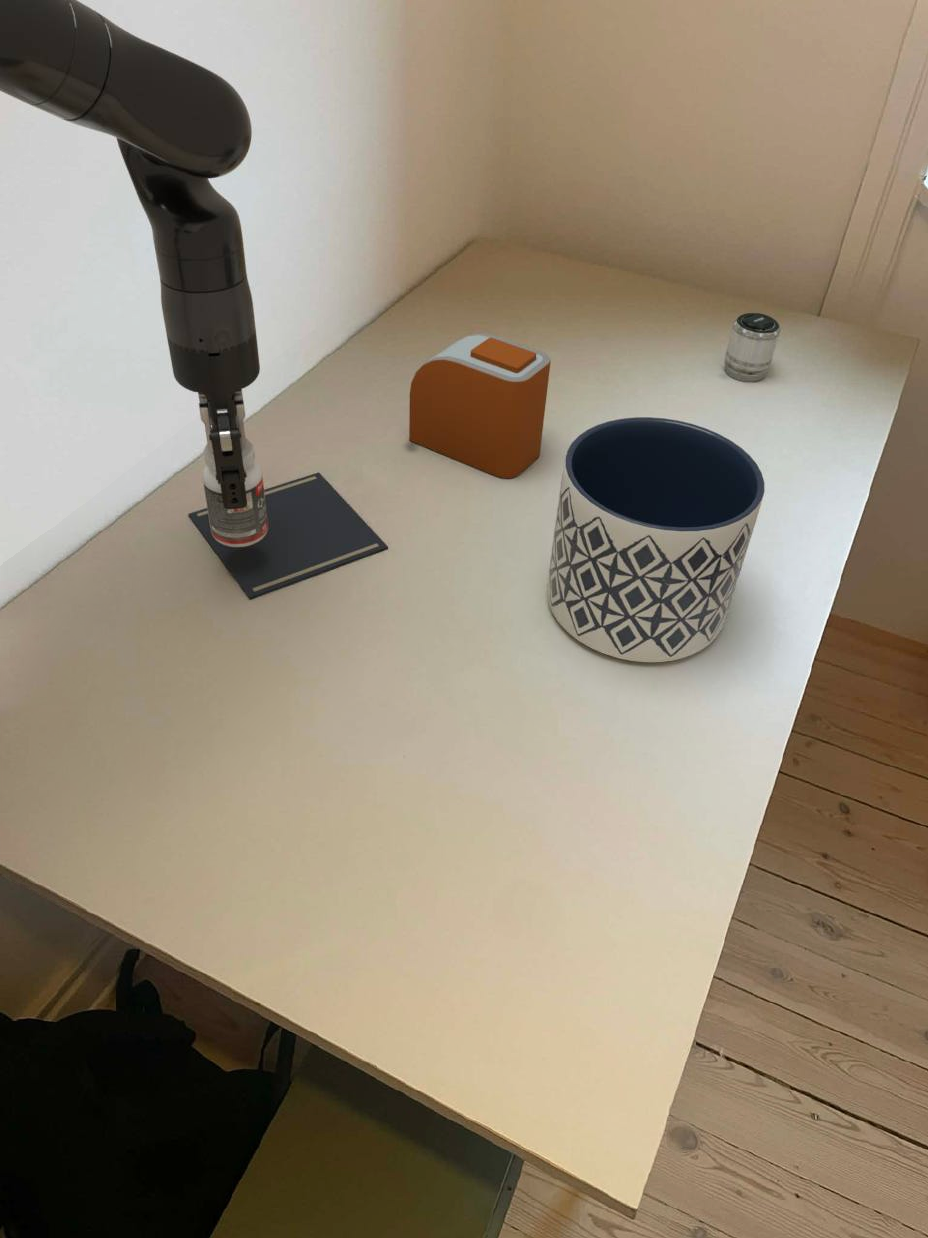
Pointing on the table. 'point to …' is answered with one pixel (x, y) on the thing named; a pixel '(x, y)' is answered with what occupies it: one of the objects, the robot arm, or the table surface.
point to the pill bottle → (242, 522)
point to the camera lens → (751, 346)
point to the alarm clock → (482, 404)
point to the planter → (651, 536)
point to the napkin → (296, 537)
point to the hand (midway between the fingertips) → (233, 486)
